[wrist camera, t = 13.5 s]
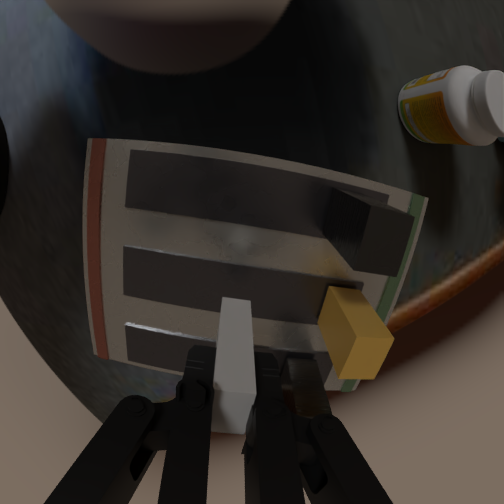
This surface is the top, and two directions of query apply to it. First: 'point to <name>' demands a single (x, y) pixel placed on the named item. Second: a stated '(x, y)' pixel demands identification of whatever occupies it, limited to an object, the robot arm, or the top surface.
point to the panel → (234, 254)
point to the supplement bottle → (454, 106)
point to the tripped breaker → (353, 334)
